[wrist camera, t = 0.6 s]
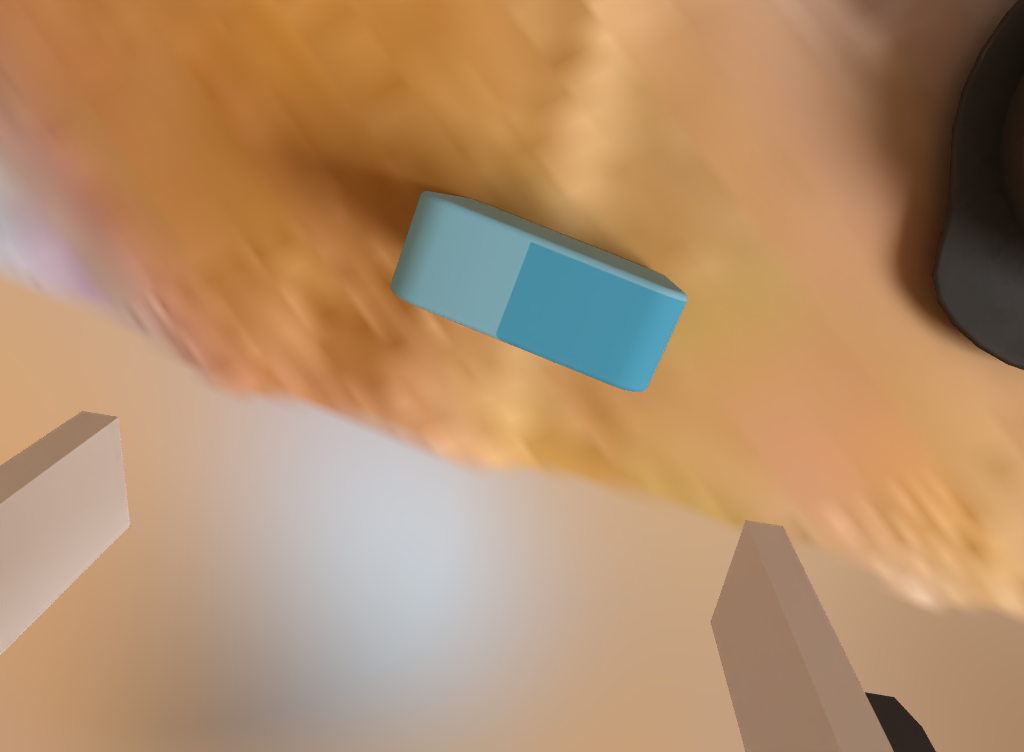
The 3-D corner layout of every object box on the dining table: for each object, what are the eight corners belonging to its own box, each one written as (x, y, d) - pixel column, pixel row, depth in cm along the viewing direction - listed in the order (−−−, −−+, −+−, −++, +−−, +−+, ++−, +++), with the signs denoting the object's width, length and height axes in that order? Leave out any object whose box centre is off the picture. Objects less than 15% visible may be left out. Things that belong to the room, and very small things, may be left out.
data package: (444, 271, 39) (378, 292, 28) (470, 197, 38) (413, 187, 27) (634, 347, 39) (647, 401, 27) (666, 275, 38) (694, 298, 26)
